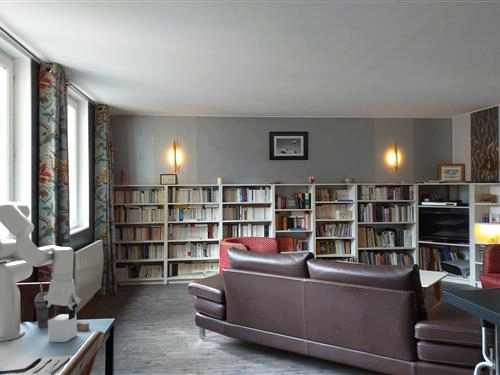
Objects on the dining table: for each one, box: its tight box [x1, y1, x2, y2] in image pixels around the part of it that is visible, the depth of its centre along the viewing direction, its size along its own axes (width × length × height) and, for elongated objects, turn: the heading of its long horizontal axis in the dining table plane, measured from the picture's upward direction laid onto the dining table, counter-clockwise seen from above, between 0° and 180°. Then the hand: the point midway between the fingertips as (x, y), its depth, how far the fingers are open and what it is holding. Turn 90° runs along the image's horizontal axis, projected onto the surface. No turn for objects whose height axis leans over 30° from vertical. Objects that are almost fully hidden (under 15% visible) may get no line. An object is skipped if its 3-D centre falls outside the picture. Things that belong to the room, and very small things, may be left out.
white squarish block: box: [47, 313, 78, 343], centre depth 161 cm, size 8×8×9 cm
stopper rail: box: [77, 321, 90, 331], centre depth 171 cm, size 10×2×3 cm, turn 78°
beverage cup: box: [34, 281, 51, 328], centre depth 176 cm, size 7×7×20 cm
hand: (61, 317), depth 161 cm, fingers open, 9 cm apart
